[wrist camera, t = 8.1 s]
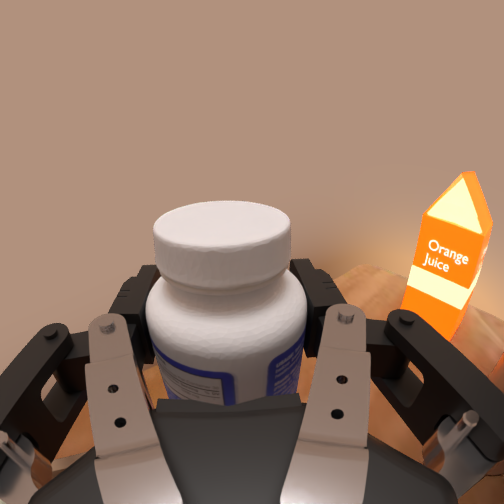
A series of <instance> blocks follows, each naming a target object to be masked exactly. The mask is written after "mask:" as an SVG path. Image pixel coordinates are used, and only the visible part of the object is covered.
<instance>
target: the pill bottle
mask: <svg viewBox="0 0 504 504" xmlns="http://www.w3.org/2000/svg"><path fill="white" fill-rule="evenodd" d="M153 236H154V246H155V262H156V265H157V268H158V269H159V272H160V274H161V277H160V278H159V279H158V280H157V282H156V283H155V284H154V286H153V288H152V289H151V291H150V293H149V295H148V298H147V302H146V320H147V325H148V330H149V334H150V338H151V341H152V345H153V349H154V353H155V356H156V359H157V363H158V366H159V369H160V372H161V376H162V379H163V382H164V385H165V388H166V391H167V394H168V397H169V399H192V400H197V401H202V402H207V403H212V404H218V405H224V406H231V405H235V404H239V403H243V402H246V401H250V400H254V399H257V398H261V397H264V396H275V395H285V394H294V393H296V391H297V385H298V379H299V373H300V366H301V360H302V352H303V346H304V339H305V331H306V321H307V299H306V295H305V292H304V289H303V287H302V285H301V284H300V282H299V281H298V279H297V278H296V277H295V276H294V275H293V274H292V273H291V272H290V271H288V270H287V267H288V264H289V261H290V257H291V225H290V220H289V218H288V216H287V215H286V214H285V213H283V212H282V211H280V210H279V209H276V208H273V207H270V206H267V205H263V204H258V203H252V202H245V201H211V202H201V203H196V204H191V205H187V206H183V207H180V208H177V209H174V210H172V211H169V212H167V213H165V214H164V215H162V216H161V217H160V218H158V220H157V221H156V222H155V224H154V227H153Z"/></svg>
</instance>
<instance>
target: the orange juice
mask: <svg viewBox="0 0 504 504" xmlns="http://www.w3.org/2000/svg"><path fill="white" fill-rule="evenodd" d="M474 172H475V171H473V172H462V174H461V175H460V176H459V177H458V178H457V179H456V180H455V181H454V182H453V183H452V185H451V186H450V187H449V188H448V189H447V190H446V191H445V192H444V193H443V194H442V195H441V196H440V197H439V198H438V199H437V200H436V201H435V202H434V203H433V205H431V207H429V208H428V210H427V211H426V212H425V213H424V214H423V218H422V223H421V228H420V234H419V238H418V243H417V248H416V252H415V257H414V261H413V265H412V268H411V272H410V276H409V279H408V283H407V288H406V292H405V295H404V299H403V302H402V306H401V309H406V310H410V311H413V312H415V313H416V314H418V315H419V316H420V317H422V318H423V319H424V320H425V321H426V322H427V323H429V324H430V325H431V326H432V327H433V328H434V329H435V330H436V331H438V332H439V333H440V334H441V335H442V336H443V337H444V338H445V339H447V340H448V341H450V339H451V338H452V336H453V334H454V333H455V331H456V329H457V328H458V326H459V324H460V323H461V321H462V319H463V316H464V314H465V311H466V309H467V306H468V303H469V301H470V298H471V296H472V293H473V290H474V287H475V284H476V282H477V279H478V276H479V273H480V270H481V267H482V262H483V259H484V255H485V252H486V250H487V245H488V241H489V237H490V233H491V229H492V226H493V222H492V219H491V216H490V213H489V210H488V207H487V204H486V201H485V199H484V196H483V193H482V191H481V188H480V185H479V182H478V180H477V177H476V175H475V173H474Z"/></svg>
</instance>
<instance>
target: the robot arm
mask: <svg viewBox="0 0 504 504" xmlns="http://www.w3.org/2000/svg"><path fill="white" fill-rule="evenodd" d="M290 272H291V273H292V274H293V275H294V276H295V277H296V278H297V279H298V281H299V282H300V284H301V285H302V287H303V289H304V292H305V295H306V299H307V321H306V331H305V339H304V346H303V348H304V351H305V354H306V357H307V358H309V357H316V358H317V361H316V366H315V371H314V375H313V380H312V384H311V388H310V393H309V397H308V401H307V403H301V400H300V396H299V393H294V394H285V395H275V396H264V397H261V398H257V399H254V400H250V401H246V402H243V403H239V404H235V405H231V406H224V405H218V404H212V403H207V402H202V401H197V400H192V399H158V401H157V407H156V409H154V406H153V403H152V400H151V397H150V394H149V391H148V388H147V385H146V381H145V378H144V375H143V372H142V368H143V364H153V362H154V358H155V353H154V349H153V345H152V341H151V338H150V334H149V330H148V325H147V320H146V302H147V298H148V295H149V293H150V291H151V289H152V288H153V286H154V284H155V283H156V282H157V280H158V279H159V278H160V277H161V274H160V272H159V269H158V268H157V265H143V266H142V267H141V269H140V271H139V273H138V275H137V277H131V278H130V279H128V280H127V281H126V282H124V283H123V285H122V287H121V289H120V292H119V293H118V295H117V297H116V299H115V300H114V302H113V304H112V306H111V308H110V310H109V312H108V314H104V315H101V316H99V317H97V318H96V319H94V320H93V321H92V322H91V323H90V325H89V328H88V331H85V332H80V333H75V334H70V333H69V330H68V328H67V326H65V325H64V324H61V323H54V324H50V325H47V326H45V327H43V328H42V329H41V330H40V331H39V332H38V333H37V334H36V335H35V336H34V337H33V338H32V339H31V340H30V342H29V343H28V344H27V345H26V346H25V347H24V348H23V349H22V351H21V352H20V353H19V354H18V355H17V356H16V358H15V359H14V360H13V361H12V362H11V363H10V365H9V366H8V367H7V368H6V369H5V371H4V372H3V373H2V374H1V376H0V500H2V501H4V502H5V503H6V504H458V500H457V499H459V498H460V497H461V496H462V495H463V494H464V493H466V492H467V491H468V490H469V489H470V488H471V487H472V486H473V485H475V484H476V483H477V482H479V481H480V480H481V479H482V478H484V477H485V476H486V475H499V474H503V473H504V352H503V354H502V356H501V358H500V359H499V361H498V363H497V364H496V366H495V368H494V369H493V371H492V373H491V374H490V376H489V377H488V378H487V377H486V376H485V375H484V374H483V373H482V372H481V371H480V370H479V369H478V368H477V367H476V366H475V365H474V364H473V363H472V362H471V361H469V360H468V359H467V358H466V357H465V356H464V355H463V354H462V353H461V352H460V351H459V350H458V349H456V348H455V347H454V346H453V345H452V344H451V343H450V342H449V341H448V340H447V339H445V338H444V337H443V336H442V335H441V334H440V333H439V332H438V331H436V330H435V329H434V328H433V327H432V326H431V325H430V324H429V323H427V322H426V321H425V320H424V319H423V318H422V317H420V316H419V315H418V314H416V313H415V312H413V311H410V310H406V309H397V310H393V311H392V312H390V313H389V315H388V318H387V321H383V320H372V319H367V318H366V316H365V313H364V312H363V311H362V310H361V309H360V308H358V307H356V306H354V305H350V304H347V302H346V301H345V299H344V297H343V296H342V294H341V293H340V291H339V289H338V288H337V286H336V285H335V283H334V281H333V280H332V278H331V277H330V275H329V274H327V273H326V272H324V271H323V270H321V269H314V267H313V265H312V263H311V262H310V260H309V259H292V260H291V261H290ZM410 361H411V362H412V363H413V364H414V365H415V366H416V367H417V368H418V369H419V370H420V372H421V373H422V375H423V377H424V384H423V383H422V382H421V381H420V380H419V378H418V377H417V376H416V375H415V374H414V373H413V372H412V371H411V370H410V369H409V367H408V364H409V362H410ZM52 374H53V375H54V377H55V378H56V380H57V382H56V383H55V385H54V386H53V387H52V389H51V390H50V392H49V393H48V395H47V396H46V398H45V399H44V400H43V401H42V399H41V390H42V388H43V386H44V385H45V383H46V382H47V380H48V379H49V378H50V377H51V375H52ZM370 377H371V379H372V381H373V382H374V384H375V385H376V386H377V387H378V389H379V390H380V391H381V392H382V394H383V395H384V396H385V398H386V399H387V400H388V401H389V403H390V404H391V405H392V407H393V408H394V409H395V410H396V412H397V413H398V414H399V416H400V417H401V418H402V419H403V421H404V422H405V423H406V425H407V426H408V427H409V428H410V430H411V431H412V432H413V434H414V435H415V436H416V438H417V439H418V440H419V441H420V443H421V444H422V445H423V450H422V455H423V459H424V461H423V465H422V464H421V463H419V462H417V461H415V460H413V459H411V458H410V457H408V456H406V455H404V454H403V453H401V452H399V451H397V450H396V449H394V448H392V447H390V446H389V445H387V444H385V443H384V442H382V441H380V440H379V439H377V438H375V437H374V436H372V435H370V434H369V433H367V432H368V419H369V401H370ZM87 400H88V406H89V413H90V420H91V427H92V433H93V439H94V444H95V446H94V447H93V448H91V449H90V450H89V451H88V452H86V453H85V454H84V455H83V456H81V457H80V458H79V459H78V460H76V461H75V462H74V463H73V464H71V465H70V466H69V467H68V468H66V469H65V470H64V471H62V472H61V473H60V474H58V475H57V476H56V477H54V478H53V476H52V473H53V472H52V466H51V464H52V462H53V460H54V458H55V456H56V454H57V453H58V451H59V449H60V447H61V445H62V443H63V441H64V440H65V438H66V436H67V434H68V432H69V431H70V429H71V427H72V425H73V424H74V422H75V420H76V418H77V417H78V415H79V413H80V411H81V410H82V408H83V406H84V405H85V403H86V401H87Z"/></svg>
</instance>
